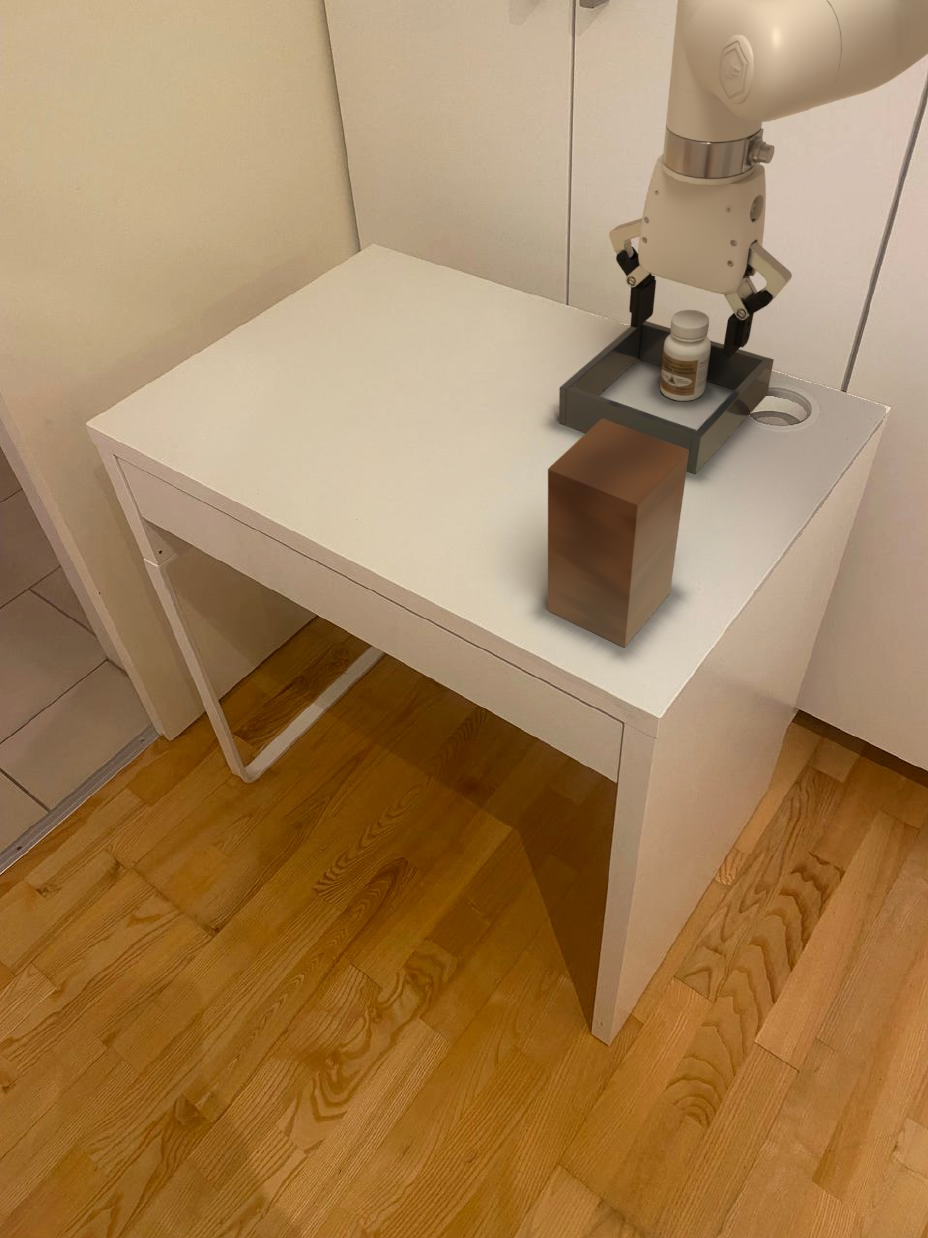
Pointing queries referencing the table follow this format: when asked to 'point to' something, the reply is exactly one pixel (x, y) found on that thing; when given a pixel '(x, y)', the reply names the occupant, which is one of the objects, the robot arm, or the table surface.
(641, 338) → the tray
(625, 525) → the display block
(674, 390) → the pill bottle
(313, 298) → the table surface
